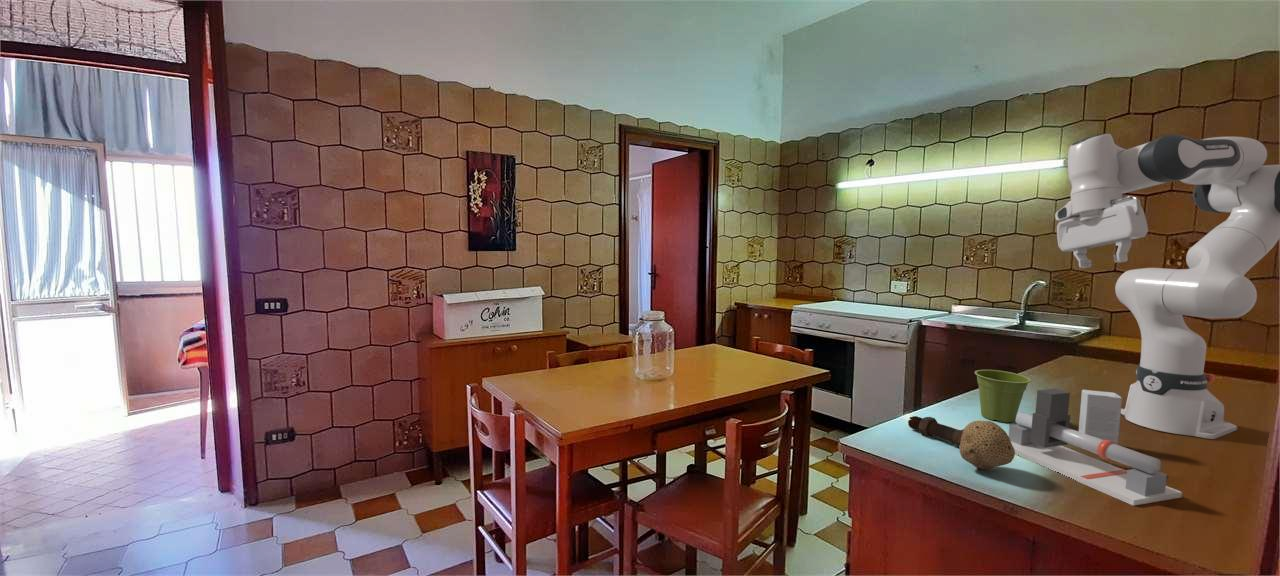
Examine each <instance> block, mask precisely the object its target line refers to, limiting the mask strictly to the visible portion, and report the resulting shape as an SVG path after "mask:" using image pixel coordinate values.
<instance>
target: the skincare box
mask: <svg viewBox="0 0 1280 576" xmlns="http://www.w3.org/2000/svg"><path fill="white" fill-rule="evenodd" d="M1122 401H1123V397H1121V396H1120V395H1119V394H1118V393H1115V392H1111V391H1100V390H1091V389H1090V390H1089V389H1082V390H1081V399H1080V410H1079V411H1080V412H1079V419H1078V420H1079V423H1078V431H1079V432H1082V433H1085V434H1087V435H1090V436H1093V437H1096V438H1099V439H1102V440H1109V441H1112V442H1115V443H1116V444H1117V445H1119V438H1120V437H1119V435H1120V425H1121V415H1122V414H1121V409H1122V404H1123V403H1122Z"/></svg>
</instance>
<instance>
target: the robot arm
mask: <svg viewBox="0 0 1280 576" xmlns="http://www.w3.org/2000/svg"><path fill="white" fill-rule="evenodd" d="M1067 152H1068V153H1067V175H1068V180H1069V182H1070V185H1071V190H1070V200H1069V201H1067V203H1066V204H1065V205H1063V207H1060V209H1058V210H1057V211H1056V212H1055V213H1054V218H1055V221H1059V222H1058V223H1057V225H1056V239H1057V245H1058V248H1059V249H1060V250H1061V251H1062V252H1073V256H1074V257H1075V258H1076V260H1077V262H1078V267H1079V269H1087V268H1092V267H1093V265H1092V259H1089V258H1088V257H1087V253H1088V249H1092V248H1095V247H1096V248H1097V247H1101V246H1106V245H1111V244H1115V246H1116V247H1117V246H1118V247H1117V250H1116V252H1115V254H1113V255H1112V256H1113V257H1112V258H1113V262H1114V263H1126V262H1128V254H1129V252H1130V249H1131V247H1132V245H1133V244H1132V240H1135V239H1141V238H1145V237H1146V236H1147V234H1148V232H1149V228H1148V222H1147V219H1146V215H1145V212H1144V209H1143V206H1142V205H1141V200H1140V198H1138V197H1137V196H1134V195H1132V194H1131V195H1126V196H1124V197H1123V194H1126V193H1130V192H1134V191H1138V190H1142V189H1147V188H1150V187H1154V186H1158V185H1162V184H1166V183H1172V182H1176V181H1180V182H1181V183H1183V184H1187V185H1194V188H1193V191H1192V199H1193V202H1194V204H1195V205H1196V207H1197V208H1198V209H1200V210H1201V211H1203V212H1206V213H1213V214H1214V213H1215V214H1223V213H1230V215H1229V216H1228V217H1227V219H1226V220H1224V221H1223V222H1221V223H1220V224H1218V225H1217V226H1216V227H1214V228H1213V229H1211V230H1210V231H1209V232H1208V233H1206V235H1204V236H1203V237H1202V238H1201V239H1199V241H1197V242H1196V243H1195V244H1194V245H1192V246H1191V247H1189V249H1188V250H1187V253H1186V256H1185V261H1186V265H1187V267H1188V268H1182V269H1179V268H1163V267H1143V268H1135V269H1134V268H1133V269H1129V270H1126V271H1125V272H1123V273H1122V274H1121V275H1120V276H1119V277H1118V278H1117V281H1116V283H1115V287H1114V291H1115V296H1116V297H1117V299H1118V301H1119V302H1120V303H1121V304H1123V305H1124V306H1125V307H1126V308H1128V310H1129V311H1130V312H1131V313H1132V315H1133V317H1134V318H1135V319H1136V321H1137V324H1138V327H1139V331H1140V338H1141V347H1140V361H1139V364H1138V365H1137V368H1136V370H1135V374H1136V375H1135V379H1136V381H1135V382H1133V383H1132V384H1130V385H1129V390H1128V395H1127V399H1126V403H1125V408H1121V415H1123V416H1124V418H1125V420H1127V421H1128V422H1131V423H1133V424H1136V425H1138V426H1140V427H1145V428H1147V429H1151V430H1155V431H1160V432H1165V433H1171V434H1176V435H1183V436H1190V437H1191V436H1192V437H1198V438H1203V439H1209V440H1215V439H1218V438H1220V437H1224V436H1225V435H1228V434H1231V433H1233V432H1235V431H1237V430H1238V426H1237V425H1236V424H1233V423H1231V422H1229V421H1225V420H1224V417H1225V405H1224V404H1223V403H1222V401H1220V400H1219V399H1218V398H1217V397H1216V396H1214V395H1213V394H1212V393H1211V392H1210V391H1209V390H1208V388H1209V387H1208V383H1213V382H1214V381H1215V379H1216V376H1215V374H1213V373H1206V372H1204V370H1205V363H1206V355H1207V343H1206V341H1205V339H1204V338H1203V337H1202V336H1201V335H1199V334H1198V333H1197V332H1194V331H1193V330H1192V329H1190V328H1189V327H1188V326H1187V323H1186V322H1185V320H1184V316H1187V317H1189V316H1190V317H1194V318H1195V317H1196V318H1204V319H1234V318H1241V317H1242V316H1244V315H1246V314H1247V313H1249V312H1250V311H1251V310H1252V309H1253V308H1254V306H1255V304H1256V303H1257V298H1258V293H1257V289H1256V287H1255V284H1253V282H1252V281H1251V280H1250V279H1249V278H1248V277H1245V276H1246V274H1247V273H1248V272H1249V271H1250V269H1252V268H1253V267H1254V266H1255V265H1256V264H1258V262H1259V261H1261V260H1262V259H1263V258H1264V257H1265V256H1266V255H1267V254H1268V253H1269V252H1270V251H1271V250H1272V249H1273V248H1274V247H1275V246H1276V245H1277V242H1278V241H1279V240H1280V164H1267V165H1264V164H1265V163H1266V161H1267V158H1268V150H1267V148H1266V146H1265V145H1264V144H1263V143H1262V142H1261V141H1259V140H1257V139H1255V138H1250V137H1244V136H1217V137H1216V136H1214V137H1208V138H1207V137H1206V138H1203V139H1195V138H1191V137H1188V136H1186V135H1182V134H1178V133H1170V134H1166V135H1164V136H1160V137H1159V138H1156V139H1153V140H1150V141H1149V142H1145V143H1143V144H1140V145H1137V146H1133V147H1131V148H1128V149H1126V148H1123V147H1120V146H1119V145H1117V144H1116V143H1115V141H1114V139H1113V136H1112V134H1111V133H1099V134H1094V135H1092V136H1088V137H1085V138H1081V139H1079V140H1077V141H1075V142H1074V143H1072V144H1071V145H1070V146H1069V148H1068V151H1067Z"/></svg>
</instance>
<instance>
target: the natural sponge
mask: <svg viewBox="0 0 1280 576" xmlns="http://www.w3.org/2000/svg"><path fill="white" fill-rule="evenodd" d="M963 429H964V430H963V433H962V437H961V442H960V447H959V454H960V456H961V458H962V459H963V460H964V461H966V462H967V463H969V464H971V465H972V466H973V467H975V468H976V469H979V470H983V471H985V470H991V469H992V468H995V467H1001V466H1005V465H1008V464H1011V463H1012V462H1013V460H1014V458H1015V455H1016V454H1015V450H1014V447H1013V446H1012V443H1011V441H1010V438H1009V434H1007V432H1006V431H1005V430H1004V429H1003V428H1002V426H1000V425H999V424H997V423H995V422H993V421H992V420H973V421H971V422H970V423H968V424H966V425H965V427H964V428H963Z"/></svg>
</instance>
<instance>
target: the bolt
mask: <svg viewBox="0 0 1280 576" xmlns="http://www.w3.org/2000/svg"><path fill="white" fill-rule="evenodd" d="M907 424H908V426H909V428H910V429H912V430H915V431H918V432H919V433H920V435H921V436H923V437H926V438H932V437H934V438H937V439H942V441H943V440H944V441H946V442H950V443H952V444H955V445H956V446H958V447H959V448H960V442H961V437H962V433H963V430H964V428H963V429H957V428H954V427H952V426H948V425H945V424H941V423H939V422H938V421H937V419H936V418H935V417H932V416H925V417H921V416H920V417H919V416H917V415H916V416H913V415H912V416H910V417H909V418H908V421H907Z"/></svg>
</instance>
